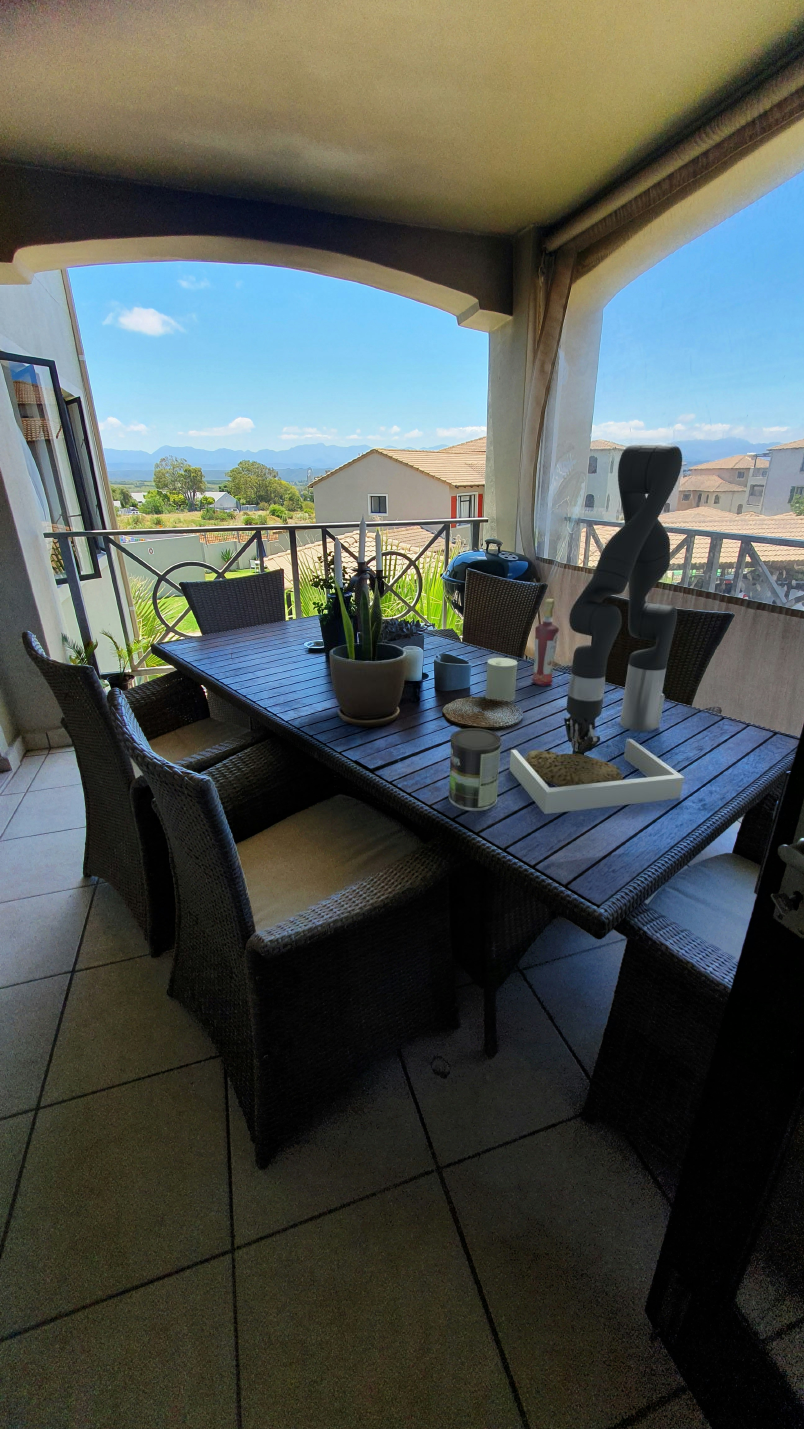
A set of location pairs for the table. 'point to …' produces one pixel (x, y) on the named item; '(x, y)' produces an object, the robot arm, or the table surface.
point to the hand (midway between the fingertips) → (577, 763)
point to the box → (603, 784)
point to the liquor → (545, 647)
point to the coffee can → (474, 768)
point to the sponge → (571, 768)
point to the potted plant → (367, 669)
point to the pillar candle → (501, 679)
